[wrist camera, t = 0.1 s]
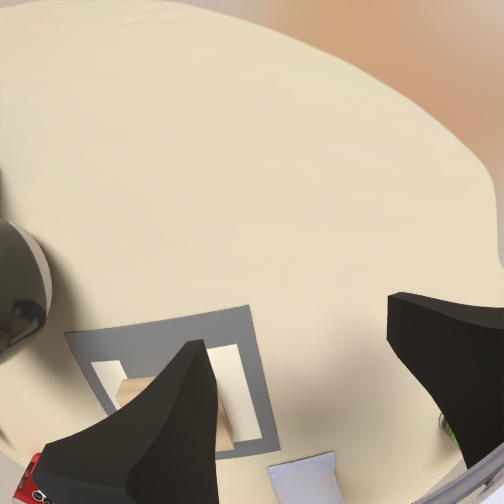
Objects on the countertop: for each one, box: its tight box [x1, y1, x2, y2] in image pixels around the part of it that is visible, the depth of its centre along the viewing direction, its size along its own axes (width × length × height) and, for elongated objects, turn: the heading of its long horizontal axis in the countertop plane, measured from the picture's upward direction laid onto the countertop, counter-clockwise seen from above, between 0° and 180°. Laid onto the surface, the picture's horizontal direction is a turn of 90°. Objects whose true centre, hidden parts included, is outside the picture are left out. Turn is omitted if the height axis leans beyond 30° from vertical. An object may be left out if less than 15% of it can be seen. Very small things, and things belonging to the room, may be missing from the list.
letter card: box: [65, 305, 281, 460], centre depth 22 cm, size 18×16×1 cm
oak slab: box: [115, 376, 234, 452], centre depth 21 cm, size 8×8×2 cm
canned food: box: [12, 453, 54, 504], centre depth 19 cm, size 8×8×11 cm
